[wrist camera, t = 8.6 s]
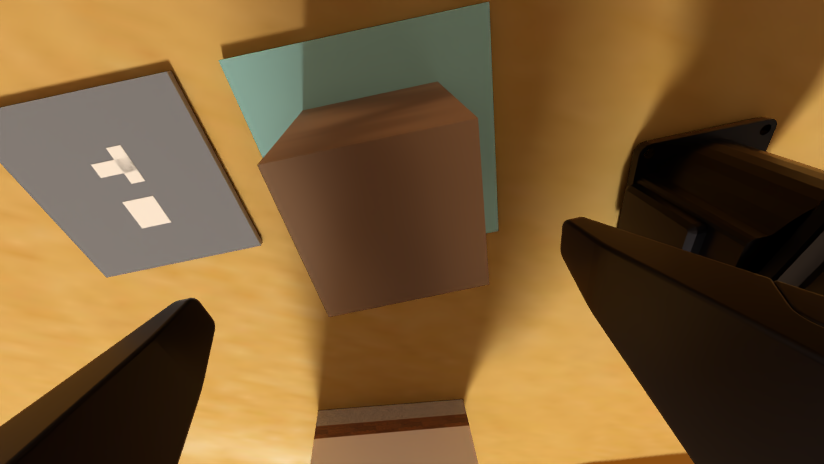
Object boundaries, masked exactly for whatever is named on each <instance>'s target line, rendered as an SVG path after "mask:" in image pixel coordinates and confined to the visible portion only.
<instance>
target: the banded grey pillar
mask: <svg viewBox="0 0 824 464" xmlns="http://www.w3.org/2000/svg"><path fill="white" fill-rule="evenodd" d="M311 464H478V461H477V456H476V452H475V448H474V444H473V440H472V435H471V431H470V427H469V423H468V418H467V414H466V410H465V406H464V402H463V399H459V400H447V401H434V402H421V403H409V404H396V405H383V406H371V407H358V408H345V409H333V410H320V411H318V416H317V423H316V429H315V436H314V443H313V450H312V457H311Z"/></svg>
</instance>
